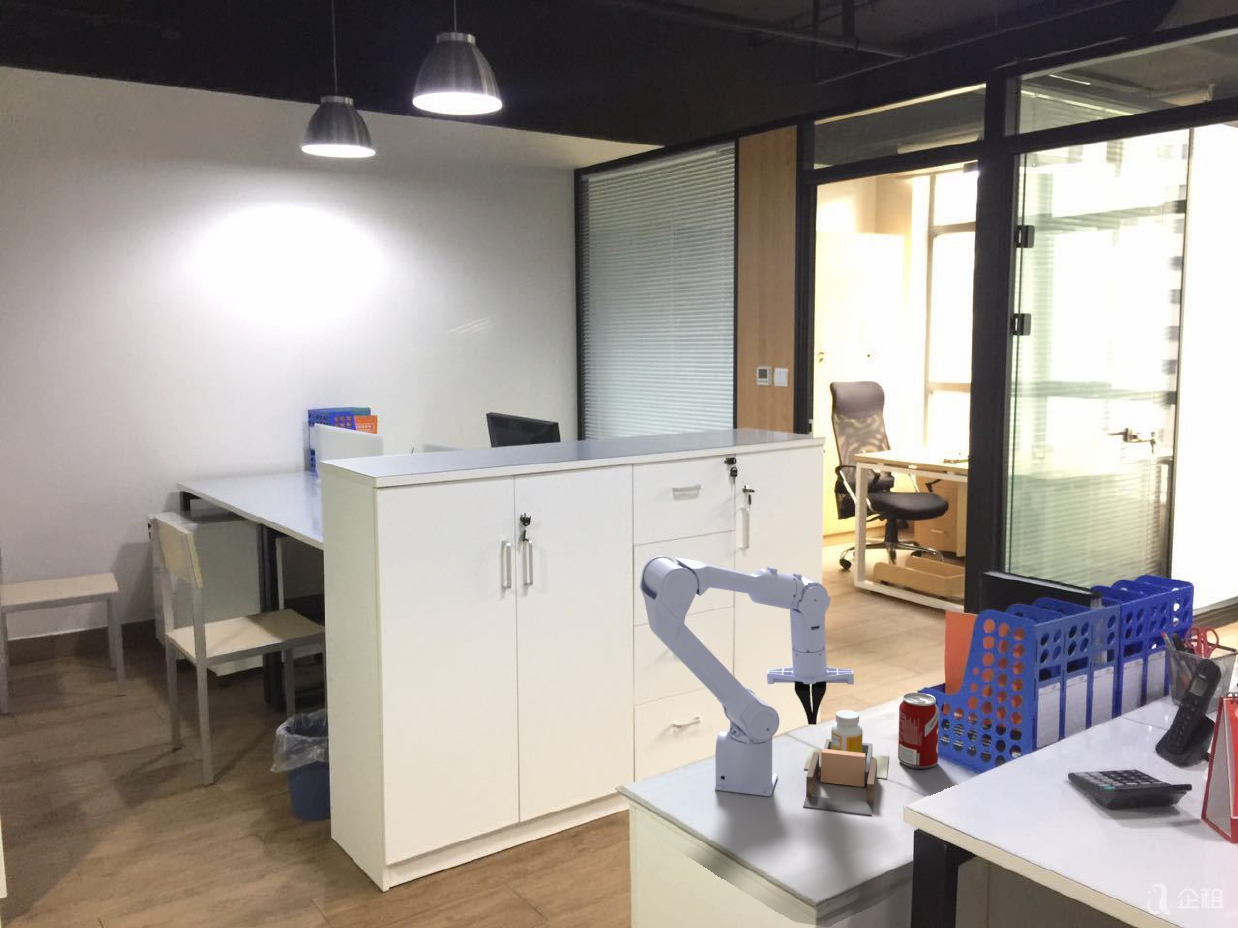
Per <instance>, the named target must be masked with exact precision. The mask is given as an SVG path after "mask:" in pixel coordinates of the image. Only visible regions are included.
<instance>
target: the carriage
mask: <svg viewBox="0 0 1238 928" xmlns="http://www.w3.org/2000/svg"><path fill="white" fill-rule="evenodd" d="M821 749H822V751H821V761H820V765H819V774H818V778H819V779H820V782H821V783H828V784H837V785H844V786H853V787H861V788H862V787H863V788H864V787H865V786H866V785H865V784H867V782H868V776H869V769H870V763H871V758H873V743H869V742H862V753H858V752H848V751H839V750H831V738H826V739H825V742H824V746H823V748H821Z"/></svg>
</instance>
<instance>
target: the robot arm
mask: <svg viewBox="0 0 1238 928" xmlns="http://www.w3.org/2000/svg"><path fill="white" fill-rule="evenodd" d="M673 559H675V560H673ZM673 559H672V558H671V557H668V556H667V555H666V556H665V555H658V556H654V557H652V558H650V559H649V560H648V561H647V562H646V564H645V565H644V566H643V569H642V573H641V577H640V583H639V589H640V591H641V594H642V596H643V599H644V605H645V609H646V615H647V620H648V624H649V628H650V630H651V632H652V633H654V635H655V636H656V637H657V638H659V640H660V641H661V642H662V644H664V645H665V646H666V647H667V649H669V650H670V651H671V652H672V653H673V655H675V656H676V658H678V660H679V661H681V663H682V664H683V665H684V666H685V667H686V668H687V669H688V670H689V671H690V672H691V673H692V674H693V675H694V676H695V677H696V679H698V680H699V681H700V682H701V683H702V684H703V685H704V687H706V689H707V690H709V692H710V693H712V695H713V696H714V697H715V698H716V700H717V701H718V702H719V703H720V704H721V707H722V709H723V712H724V715H725V717H726V719H728V720H729V730H719V731H718V733H717V738H716V744H715V753H714V755H715V756H714V757H715V761H714V762H715V763H714V764H715V785H714V789H715V791H716V790H717V791H724V792H730V793H738V794H739V793H740V794H749V795H757V796H764V797H771V796H772V794H773V791H774V788H775V785H776V782H777V779H778V774H777V773H773V737H774V736H775V734H776V733H777V731H778V730H779V726H780V716H779V713H778V712H777V710H776V709H775V708H774V707H773V706H771V705H768V703H766V702H764V700H762V699H761V698H760V697H758V696H757V694H755V692H754V691H752V690H751V689H749V688H746V687H745V686H744V685H742V683H741V682H740V681H739V680H738V679H737V678H736V677H735V676H734V675H733V674H732V672H731V671H729V669H728V668H726V666H725V665H724V664H723V663H722V662H721V661H720V660H719V659H718V658H717V657H716V655H714V654H713V652H712V651H711V650H709V648H708V647H707V645H705V644H704V642H702V641H701V639H699V637H697V636H696V635H695V633H693V631H692V630H690V628H689V627H688V625H686V624H685V620H686V616H687V613H688V611H689V609H690V607H691V605H692V603H693V601H694V599H695V597H696V595H698V596H701V597H702V595H703V594H705V593H706V592H707V590H708V589H711V588H712V589H719V590H724V591H729V592H730V591H732V592H738V593H742V594H743V593H744V594H748V596H749V598H750V599H751V601H752V602H753V603H756V604H760V605H764V606H771V607H774V608H781V609H785V610H789V617H790V618H789V619H790V637H791V639H790V640H791V657H792V666H791V667H782V668H781V667H780V668H774V669H773V668H772V669H767V671H766V677H767V678H766V679H767V682H766V683H767V685H773V684H775V683H777V684H778V683H782V684H785V683H786V684H787V683H788V684H789V683H790V684H791V683H793V684H794V692H795V694H796V696H797V697H798V699H799V701H800V703H801V705H802V707H803V710H804V713H805V715H806V720H807V723H808V725H814V726H815V725H816V726H817V723H818V721H817V720H818V719H817V718H818V713H819V709H820V707H821V703H822V701H823V698H824V696H825V694H826V692H827V684H847V685H855V677H854V669H848V668H846V669H845V668H839V667H838V668H836V667H830V666H827V664H828V663H827V645H826V625H825V624H826V623H825V622H826V612H827V610H828V609H829V607H830V604H831V596H829V594H828V593H829V592H828V590H827V588H826V587H825V586H824V585H823V584H821V583H820V582H817V581H815V580H814V579H811V578H810V577H807V576H805V575H802V574H800V573H796V572H794V573H793V574H788V573H784V572H778V571H779V570H778V569H777V568H775V567H773V566H767V567H766V569H764V568H758V569H756V570H755V571H754V572H752V573H748V572H743V571H740V570H735V569H731V568H727V567H723V566H719V565H716V564H711V563H707V562H704V561H699V560H694V559H688V558H684V557H683V558H682V557H674V558H673ZM675 561H676V562H677V563H676V562H675Z"/></svg>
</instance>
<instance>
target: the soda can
mask: <svg viewBox="0 0 1238 928" xmlns="http://www.w3.org/2000/svg"><path fill="white" fill-rule="evenodd" d="M902 699H903V700H902V702H900V704H899V705H898V706H899V708H898V738H897V739H898V740H897V741H898V746H897V747H898V749H897V752H898V753H897V758H898V760H899V762H900V763H902V764H903V765H905V766H907V767H909V768H912V769H914V770H915V769H917V770H926V769H929V768H932V767H935V766H936V765H937V764H938V762H939V761H938V760H939V734H940V733H939V731H940V729H939V728H940V727H939V726H940V709H939V706H938V705H937V704H936V703H937V700H936V698H935V696H933V695H931V694H927V693H923V692H910V693H909V692H908V693H906V694H904V695H903V696H902Z"/></svg>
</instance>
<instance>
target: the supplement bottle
mask: <svg viewBox="0 0 1238 928" xmlns="http://www.w3.org/2000/svg"><path fill="white" fill-rule="evenodd" d="M859 722H860V714H859V713H858V712H857V711H854V710H850V709H841V710H837V711H836V712H835V722H834V723H833V724H832V725H831V736H830V737H831V738H830V739H831V750H839V751H848V752H858V753H862V743H863V734H864V733H863V727H862V726H861V724H859Z"/></svg>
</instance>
